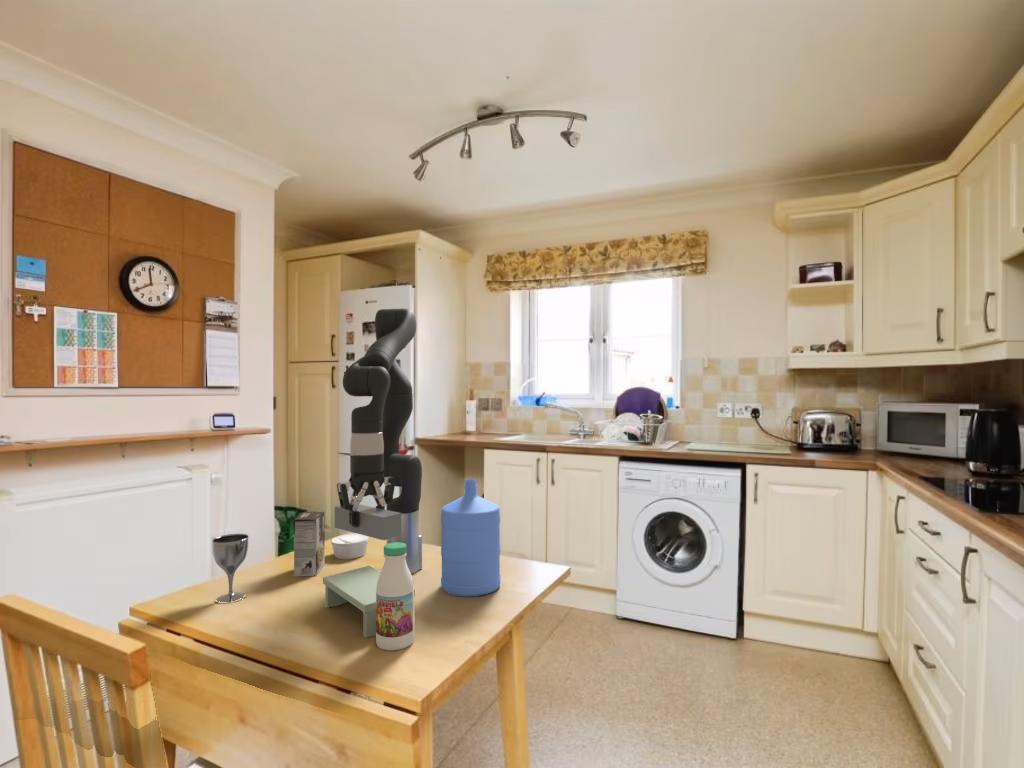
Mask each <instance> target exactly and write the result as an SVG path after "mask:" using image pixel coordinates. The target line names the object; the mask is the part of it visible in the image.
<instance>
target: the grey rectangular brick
mask: <svg viewBox="0 0 1024 768" xmlns="http://www.w3.org/2000/svg"><path fill="white" fill-rule="evenodd" d="M357 511H358V527H356V528H354V527H352V526H351V525H350V523H349V510H346V509H343V508H341V506H340V505H336V506H334V528H335V529H339V530H343V531H346V532H350V533H352V534H361V535H365V536H368V537H369V538H373V539H376V540H382V541H387V539H390V538H393V537H397V536H400V535H401V513H399V512H394V511H389V510H386V509H385V510H384V509H379V508H376V506H375V507H374V506H369V505H363V504H359V506H358V509H357Z"/></svg>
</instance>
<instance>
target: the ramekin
mask: <svg viewBox="0 0 1024 768" xmlns="http://www.w3.org/2000/svg"><path fill="white" fill-rule="evenodd" d="M369 540H370V537H369V536H365V535H361V534H357V533H346V534H341V535H338V536H335V537H333V538H332V539H331V541H330V543H331V546H332V550H333V555H334V557H335V558H336V559H339V560H353V559H358V558H361V557H363V556H364V555H365V554H366V553H367V549H368V542H369Z"/></svg>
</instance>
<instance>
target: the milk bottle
mask: <svg viewBox="0 0 1024 768" xmlns="http://www.w3.org/2000/svg"><path fill="white" fill-rule="evenodd" d="M406 551H407V547H406V544H404V543H400V542H395V543H389V544H387V543H385V544H384V546H383V557H384V563H383V566H382V569H381V571H380V572H381V574H380V576H379V578H378V582H377V588H376V635H375V641H376V642H375V643H376V645H377V647H378V648H379V649H380V650H384V651H388V652H389V651H394V652H395V651H399V650H402V649H405V648H409V647H410V646H411V645H412V644H413V643H414V640H415V597H414V590H415V586H414V585H415V584H414V578H413V576H412V574H411V573H410V571H409V569H408V566H407V563H406V559H405V556H406V555H407V554H406Z"/></svg>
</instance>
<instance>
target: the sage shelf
mask: <svg viewBox="0 0 1024 768" xmlns="http://www.w3.org/2000/svg"><path fill="white" fill-rule="evenodd" d="M380 574H381V571H380V570H378V569H376V568H374V567H372V566H370V565H366V566H362V567H359V568H355V569H351V570H347V571H343V572H339V573H335V574H331V575H327V576H323V577H322V584H323V586H325V589H324V590H325V592H324V593H325V594H324V595H325V601H324V602H325V603H324V604H325V608H327V607H328V608H327V609H330V608H329V607H331V608H333V606H334V607H337V606H340V605H344V604H347V602H348V603H349V604H351V605H353V606H355V607H356V608H357V609H359V610H361V611H362V612H363V613H362V620H363V621H362V623H363V625H362V630H363V631H362V636H364V638H365V639H368V638H370V637H373V636H376V588H377V582H378V578H379V576H380ZM415 592H416V591H415V589H414V598H415V597H416V593H415Z"/></svg>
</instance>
